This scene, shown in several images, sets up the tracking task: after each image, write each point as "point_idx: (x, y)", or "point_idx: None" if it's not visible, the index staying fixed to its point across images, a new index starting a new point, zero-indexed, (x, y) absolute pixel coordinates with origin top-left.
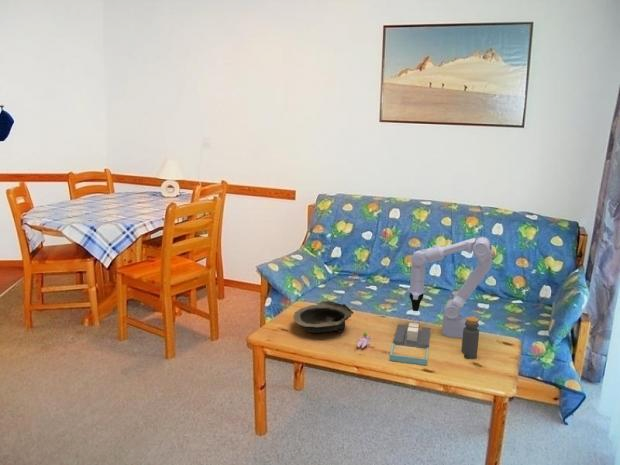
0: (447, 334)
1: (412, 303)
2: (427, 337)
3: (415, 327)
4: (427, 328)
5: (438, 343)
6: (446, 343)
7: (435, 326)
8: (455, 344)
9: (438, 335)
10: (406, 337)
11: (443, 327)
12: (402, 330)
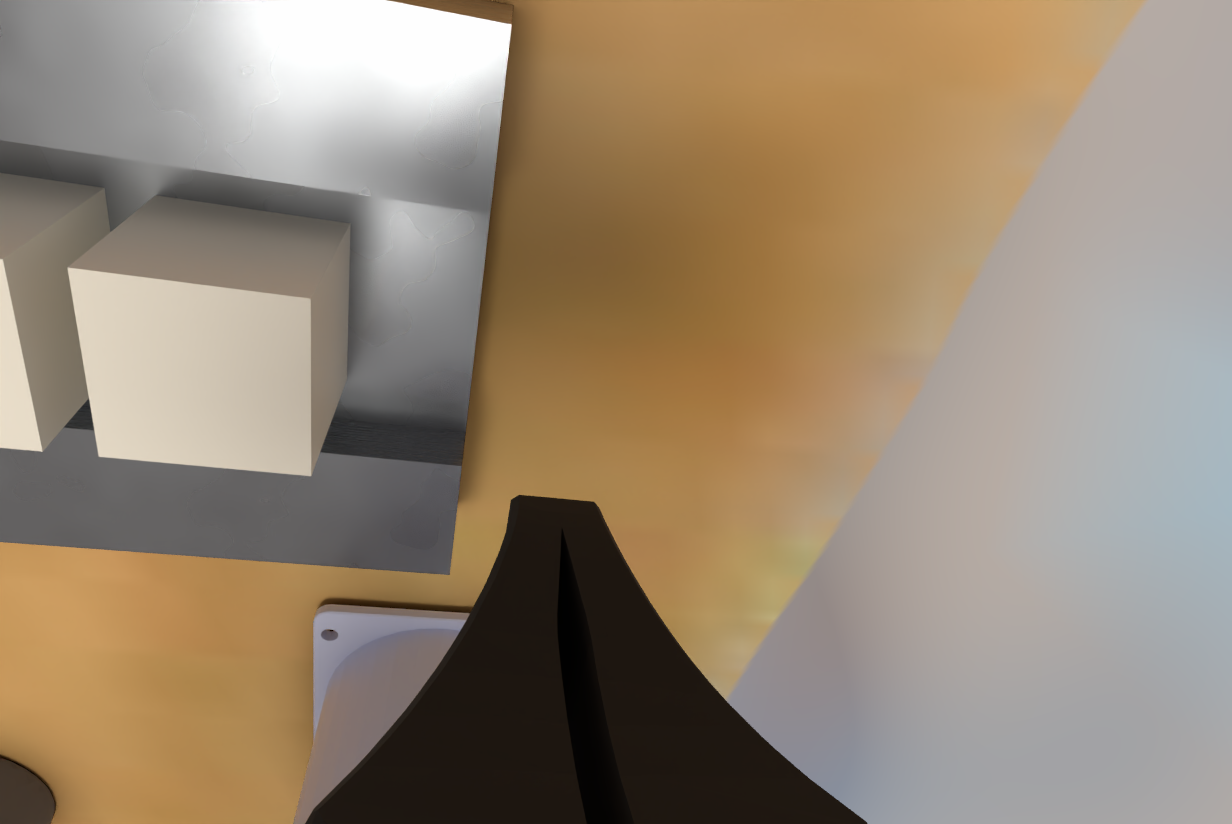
0: (324, 716)
1: (452, 649)
2: (6, 515)
3: (98, 400)
4: (418, 534)
5: (182, 572)
6: (222, 645)
7: (765, 573)
8: (231, 716)
9: (462, 586)
10: (23, 159)
11: (365, 744)
12: (155, 103)
